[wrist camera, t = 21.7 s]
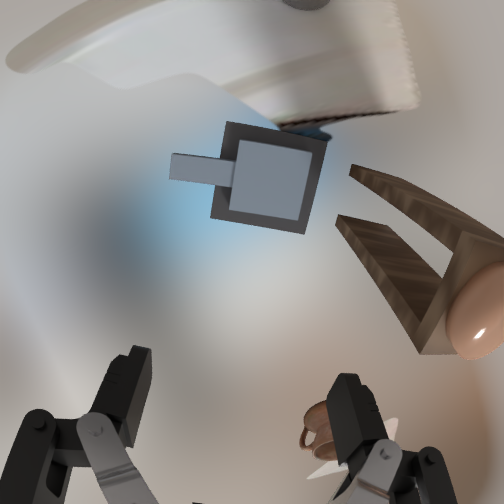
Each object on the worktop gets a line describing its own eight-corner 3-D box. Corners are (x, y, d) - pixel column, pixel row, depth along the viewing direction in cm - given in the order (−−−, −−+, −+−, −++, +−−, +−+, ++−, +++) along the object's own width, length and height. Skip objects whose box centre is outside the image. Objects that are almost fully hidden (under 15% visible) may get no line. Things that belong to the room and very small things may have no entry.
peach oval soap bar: (475, 253, 19) (490, 265, 17) (528, 269, 20) (540, 279, 18) (428, 346, 23) (438, 361, 21) (487, 345, 23) (496, 357, 22)
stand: (351, 163, 47) (476, 240, 18) (402, 178, 48) (534, 260, 19) (335, 225, 52) (419, 354, 23) (384, 235, 53) (485, 353, 24)
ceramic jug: (351, 383, 70) (364, 428, 57) (363, 410, 75) (374, 450, 62) (286, 406, 73) (290, 451, 61) (305, 429, 79) (309, 470, 66)
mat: (226, 121, 44) (226, 121, 44) (326, 141, 46) (327, 142, 45) (210, 216, 51) (210, 218, 51) (303, 233, 53) (304, 234, 52)
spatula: (176, 131, 44) (173, 132, 43) (309, 151, 46) (312, 153, 44) (169, 197, 49) (166, 201, 47) (296, 216, 51) (297, 220, 49)
